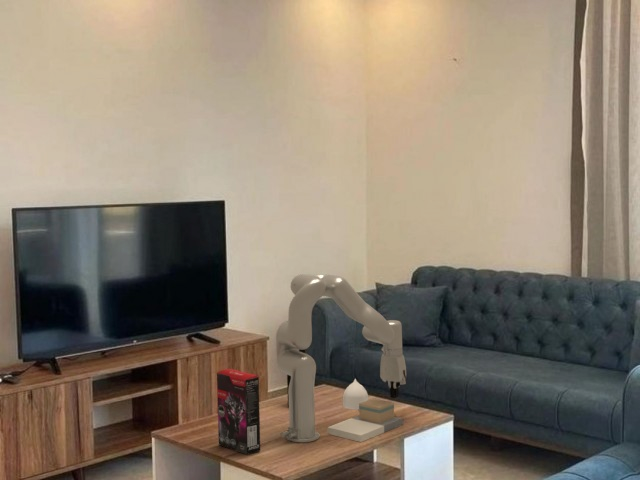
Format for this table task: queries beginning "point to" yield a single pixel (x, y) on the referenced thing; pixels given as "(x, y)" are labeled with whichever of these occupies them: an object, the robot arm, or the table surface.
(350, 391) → the teardrop
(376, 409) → the carton
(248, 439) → the graphics card box
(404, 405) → the table surface
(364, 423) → the grey and cream slab
